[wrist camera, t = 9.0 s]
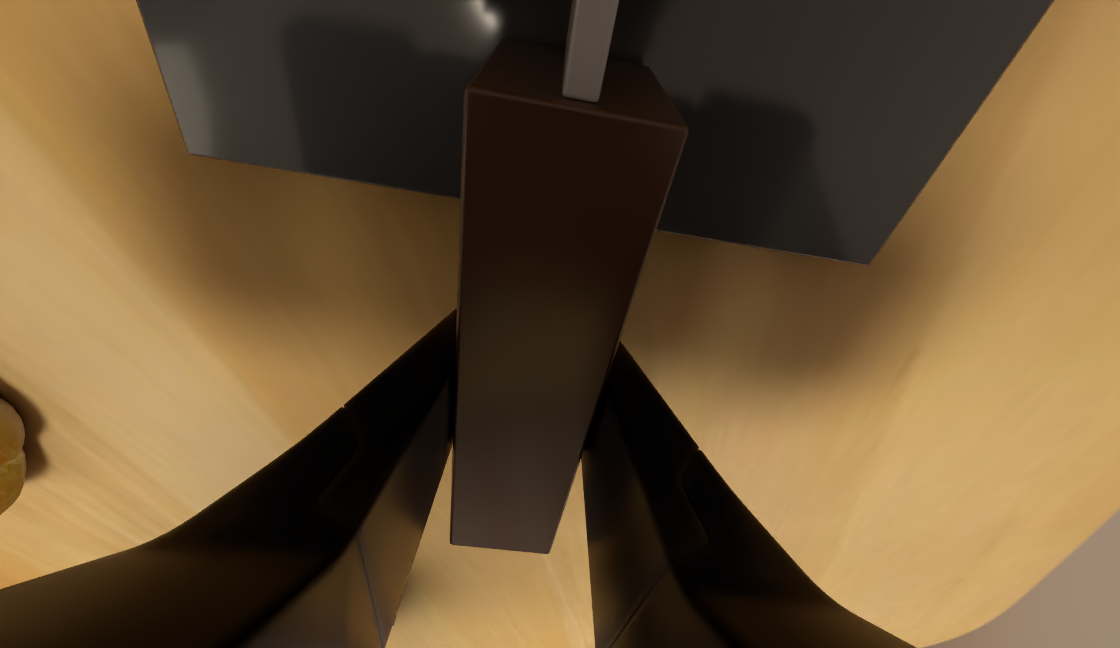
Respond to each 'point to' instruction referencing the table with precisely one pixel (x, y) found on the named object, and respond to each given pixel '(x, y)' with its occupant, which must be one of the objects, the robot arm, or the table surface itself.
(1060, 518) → the table surface
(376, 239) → the table surface
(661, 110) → the knife
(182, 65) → the butter board
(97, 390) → the table surface
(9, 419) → the bread roll
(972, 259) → the table surface
